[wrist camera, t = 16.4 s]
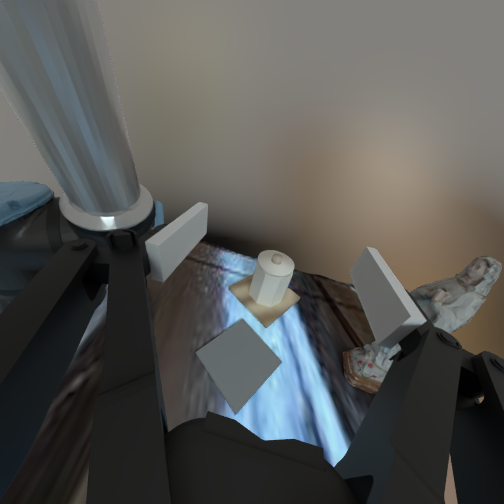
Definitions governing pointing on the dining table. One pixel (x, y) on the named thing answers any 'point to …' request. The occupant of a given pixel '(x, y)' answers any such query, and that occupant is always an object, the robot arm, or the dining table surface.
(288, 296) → the board
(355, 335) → the dining table surface
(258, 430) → the dining table surface
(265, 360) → the mat
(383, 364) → the statue
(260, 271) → the white lidded jar
